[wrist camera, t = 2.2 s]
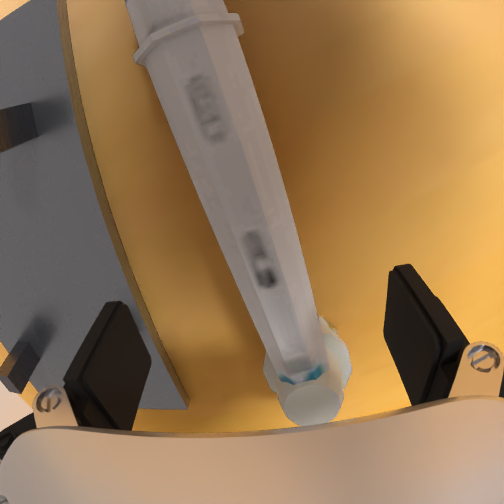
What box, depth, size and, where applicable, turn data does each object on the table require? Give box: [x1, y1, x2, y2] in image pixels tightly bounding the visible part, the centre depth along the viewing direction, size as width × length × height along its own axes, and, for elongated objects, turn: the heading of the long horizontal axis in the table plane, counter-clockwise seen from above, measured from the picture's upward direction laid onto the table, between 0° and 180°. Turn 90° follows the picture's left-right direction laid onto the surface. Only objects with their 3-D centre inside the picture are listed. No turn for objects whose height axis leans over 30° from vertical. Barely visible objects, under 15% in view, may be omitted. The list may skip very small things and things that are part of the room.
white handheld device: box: [125, 0, 352, 426], centre depth 15 cm, size 5×7×25 cm
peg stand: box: [0, 0, 189, 409], centre depth 16 cm, size 30×16×5 cm, turn 9°
